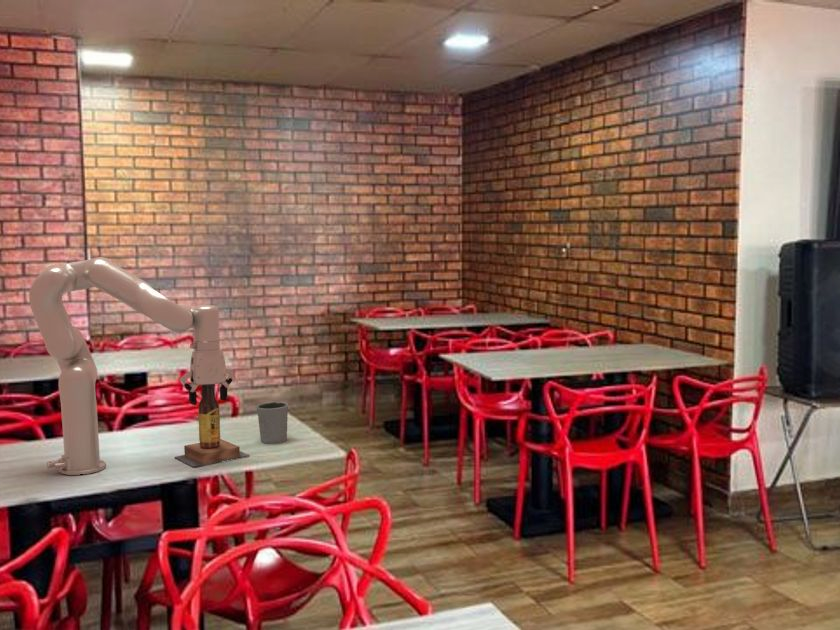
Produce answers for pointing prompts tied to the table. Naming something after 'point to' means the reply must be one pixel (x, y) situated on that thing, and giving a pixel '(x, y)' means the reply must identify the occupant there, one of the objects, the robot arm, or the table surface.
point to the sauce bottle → (209, 418)
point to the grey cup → (273, 422)
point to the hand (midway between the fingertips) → (208, 402)
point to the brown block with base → (210, 454)
